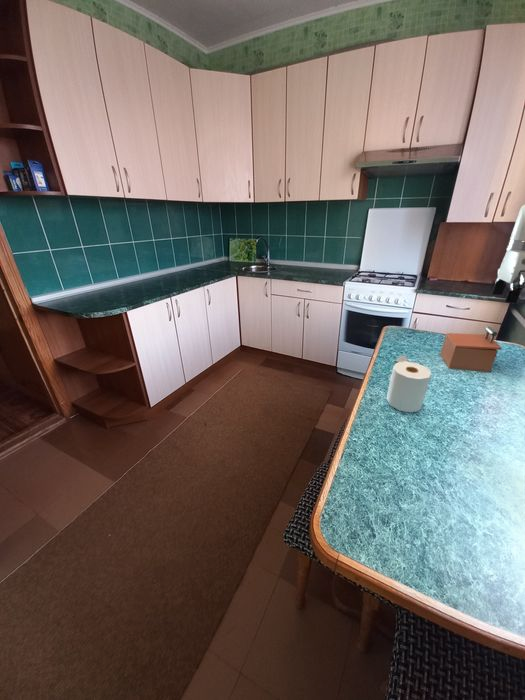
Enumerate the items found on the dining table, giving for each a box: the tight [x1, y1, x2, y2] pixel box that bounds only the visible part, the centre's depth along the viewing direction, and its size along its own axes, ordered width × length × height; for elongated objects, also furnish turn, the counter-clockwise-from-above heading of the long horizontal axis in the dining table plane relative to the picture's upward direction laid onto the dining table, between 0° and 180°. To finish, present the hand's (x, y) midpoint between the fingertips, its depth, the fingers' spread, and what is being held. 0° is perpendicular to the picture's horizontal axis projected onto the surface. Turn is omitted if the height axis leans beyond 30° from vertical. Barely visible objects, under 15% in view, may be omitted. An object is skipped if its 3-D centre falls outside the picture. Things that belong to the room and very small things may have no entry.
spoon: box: [388, 355, 409, 382], centre depth 109 cm, size 4×21×2 cm, turn 145°
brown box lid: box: [445, 326, 503, 351], centre depth 108 cm, size 14×12×5 cm
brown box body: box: [439, 335, 499, 373], centre depth 111 cm, size 14×12×9 cm
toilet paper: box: [386, 361, 432, 414], centre depth 89 cm, size 10×10×12 cm
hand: (503, 298), depth 100 cm, fingers open, 9 cm apart
